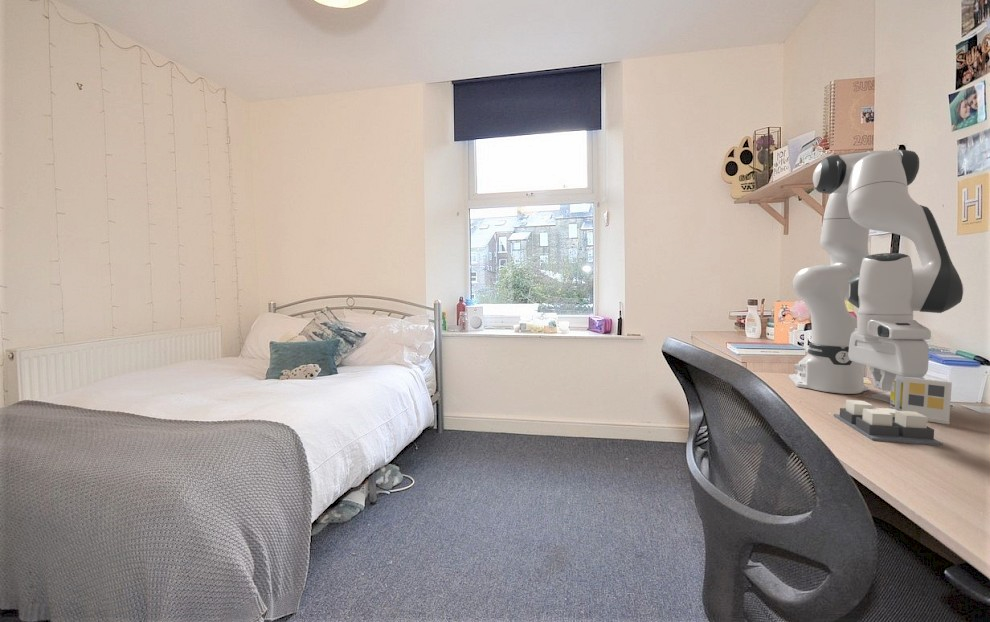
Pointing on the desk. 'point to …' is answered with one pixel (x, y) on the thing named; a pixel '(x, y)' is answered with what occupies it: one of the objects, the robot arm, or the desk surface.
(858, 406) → the button
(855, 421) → the button board
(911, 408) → the card
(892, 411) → the button
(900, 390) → the pill bottle
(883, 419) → the button
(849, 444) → the desk surface
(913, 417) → the button
